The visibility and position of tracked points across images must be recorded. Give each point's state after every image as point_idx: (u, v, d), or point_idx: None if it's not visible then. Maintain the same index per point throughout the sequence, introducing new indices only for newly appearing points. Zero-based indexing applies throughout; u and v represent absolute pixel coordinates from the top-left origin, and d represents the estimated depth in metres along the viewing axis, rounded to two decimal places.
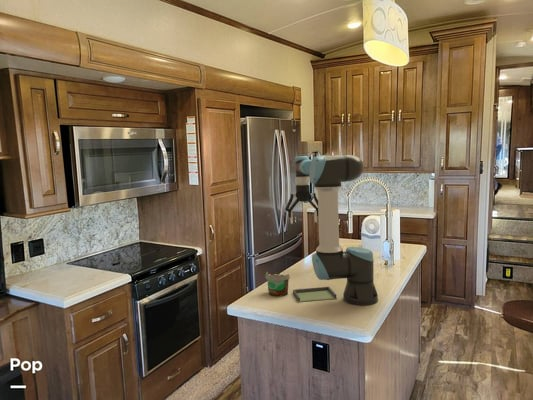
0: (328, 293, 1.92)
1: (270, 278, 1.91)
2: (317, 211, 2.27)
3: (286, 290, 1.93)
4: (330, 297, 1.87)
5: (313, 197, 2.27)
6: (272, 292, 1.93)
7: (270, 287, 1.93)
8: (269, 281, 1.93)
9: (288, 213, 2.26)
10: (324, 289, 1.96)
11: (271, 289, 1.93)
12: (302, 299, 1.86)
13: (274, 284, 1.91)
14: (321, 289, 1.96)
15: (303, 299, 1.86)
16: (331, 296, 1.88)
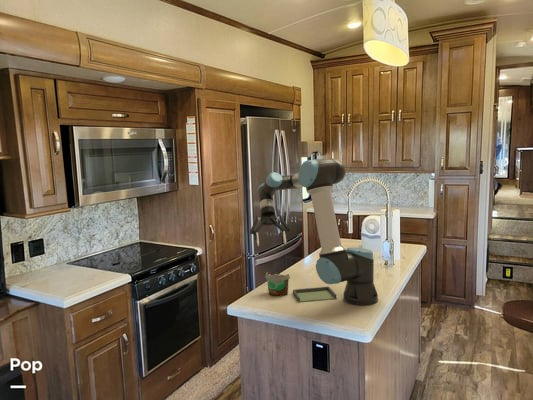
0: (328, 293, 1.92)
1: (270, 278, 1.91)
2: (285, 232, 2.07)
3: (286, 290, 1.93)
4: (330, 297, 1.87)
5: (280, 220, 2.13)
6: (272, 292, 1.93)
7: (270, 287, 1.93)
8: (269, 281, 1.93)
9: (254, 236, 2.06)
10: (324, 289, 1.96)
11: (271, 289, 1.93)
12: (302, 299, 1.86)
13: (274, 284, 1.91)
14: (321, 289, 1.96)
15: (303, 299, 1.86)
16: (331, 296, 1.88)
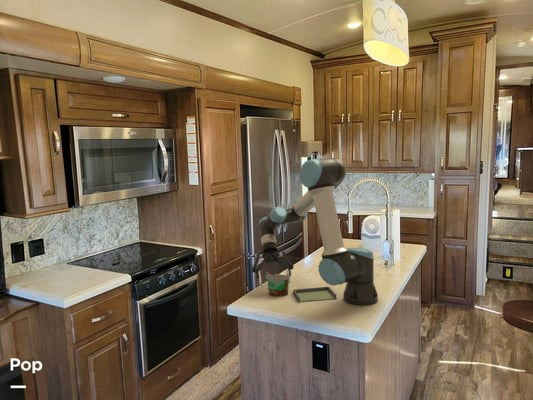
0: (328, 293, 1.92)
1: (270, 278, 1.91)
2: (289, 270, 1.97)
3: (286, 290, 1.93)
4: (330, 297, 1.87)
5: (283, 257, 2.03)
6: (272, 292, 1.93)
7: (270, 287, 1.93)
8: (269, 281, 1.93)
9: (256, 274, 1.96)
10: (324, 289, 1.96)
11: (271, 289, 1.93)
12: (302, 299, 1.86)
13: (274, 284, 1.91)
14: (321, 289, 1.96)
15: (303, 299, 1.86)
16: (331, 296, 1.88)
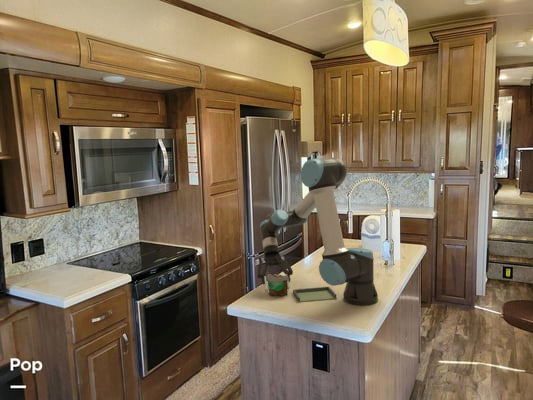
0: (328, 293, 1.92)
1: (268, 278, 1.91)
2: (288, 275, 1.95)
3: (285, 291, 1.92)
4: (330, 297, 1.87)
5: (284, 261, 2.01)
6: (271, 292, 1.93)
7: (269, 287, 1.93)
8: (268, 281, 1.93)
9: None
10: (324, 289, 1.96)
11: (270, 289, 1.93)
12: (302, 299, 1.86)
13: (272, 285, 1.91)
14: (321, 289, 1.96)
15: (303, 299, 1.86)
16: (331, 296, 1.88)
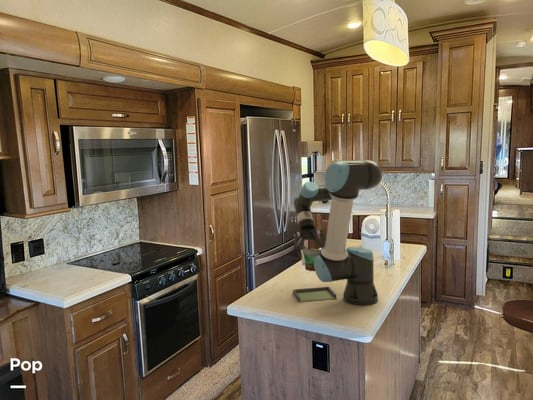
0: (328, 293, 1.92)
1: (305, 252, 1.86)
2: None
3: None
4: (330, 297, 1.87)
5: (320, 235, 1.95)
6: (307, 266, 1.87)
7: (306, 261, 1.88)
8: (305, 255, 1.88)
9: (298, 253, 1.88)
10: (324, 289, 1.96)
11: (307, 263, 1.87)
12: (302, 299, 1.86)
13: (309, 259, 1.86)
14: (321, 289, 1.96)
15: (303, 299, 1.86)
16: (331, 296, 1.88)
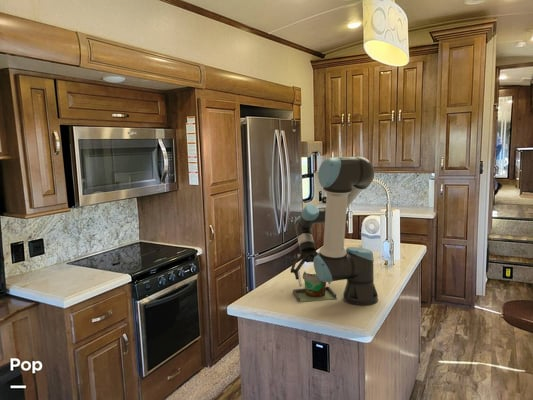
0: (328, 293, 1.92)
1: (307, 278, 1.87)
2: None
3: (323, 291, 1.88)
4: (330, 297, 1.87)
5: None
6: (309, 292, 1.89)
7: (307, 287, 1.89)
8: (306, 281, 1.89)
9: (295, 275, 1.90)
10: None
11: (308, 289, 1.89)
12: (302, 299, 1.86)
13: (310, 285, 1.87)
14: None
15: (303, 299, 1.86)
16: (331, 296, 1.88)
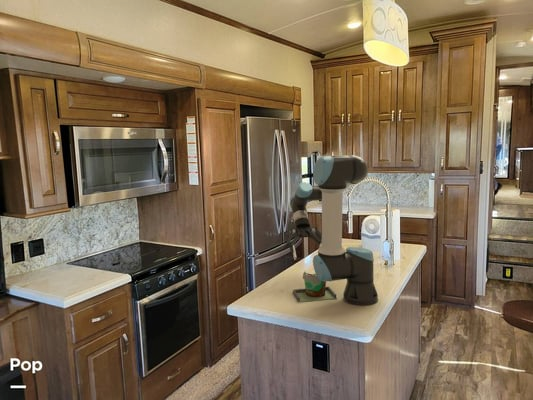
0: (328, 293, 1.92)
1: (307, 278, 1.87)
2: None
3: (323, 291, 1.88)
4: (330, 297, 1.87)
5: (315, 232, 2.05)
6: (309, 292, 1.89)
7: (307, 287, 1.89)
8: (306, 281, 1.89)
9: (290, 249, 1.98)
10: None
11: (308, 289, 1.89)
12: (302, 299, 1.86)
13: (310, 285, 1.87)
14: None
15: (303, 299, 1.86)
16: (331, 296, 1.88)
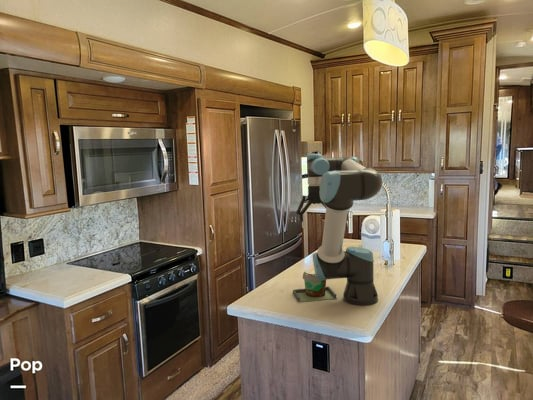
0: (328, 293, 1.92)
1: (307, 278, 1.87)
2: None
3: (323, 291, 1.88)
4: (330, 297, 1.87)
5: None
6: (309, 292, 1.89)
7: (307, 287, 1.89)
8: (306, 281, 1.89)
9: None
10: None
11: (308, 289, 1.89)
12: (302, 299, 1.86)
13: (310, 285, 1.87)
14: None
15: (303, 299, 1.86)
16: (331, 296, 1.88)
